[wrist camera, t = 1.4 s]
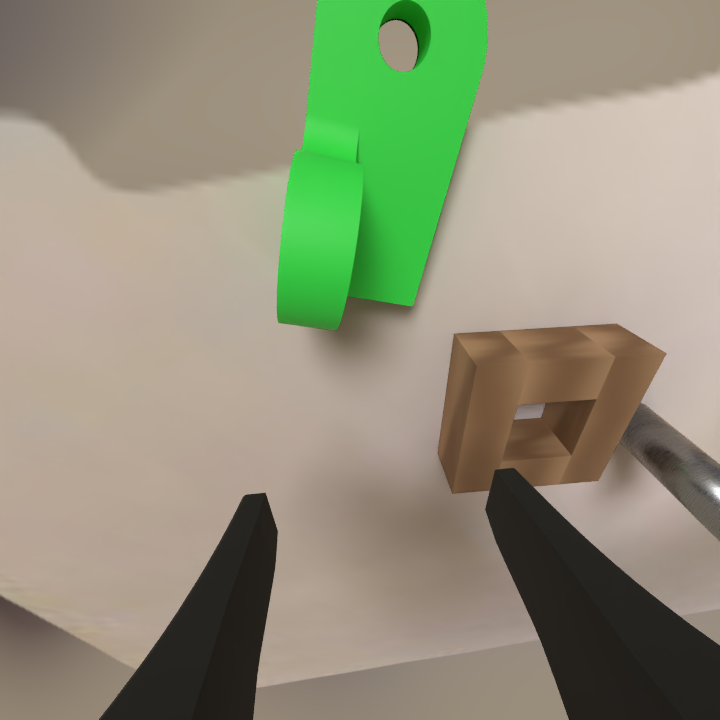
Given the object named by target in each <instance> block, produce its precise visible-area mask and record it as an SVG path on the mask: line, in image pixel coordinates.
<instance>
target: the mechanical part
mask: <svg viewBox="0 0 720 720" xmlns="http://www.w3.org/2000/svg"><path fill="white" fill-rule="evenodd" d="M393 20H399V21H402V22H404V23H406V24H407V25H408V26H409V27H410V28H411V29H412V31H413V33H414V35H415V37H416V41H417V47H418V53H417V59H416V63H415V66H414V68H413V70H411V71H408V72H398V71H395V70H394V69H392V68H391V67H389V66H388V65H387V63H386V62H385V61H384V59H383V57H382V55H381V52H380V48H379V41H378V35H379V29H380V27H381V26H382V25H384V24H385V23H387V22H389V21H393ZM487 42H488V21H487V10H486V3H485V0H317V8H316V18H315V29H314V41H313V50H312V62H311V72H310V82H309V93H308V104H307V115H306V124H305V133H304V140H303V146H302V150H296V151H295V154H294V157H293V160H292V165H291V170H290V175H289V181H288V187H287V194H286V201H285V209H284V217H283V226H282V235H281V245H280V256H279V269H278V286H277V318H278V322H279V323H284V324H291V325H298V326H305V327H312V328H319V329H327V330H334V331H337V329H338V328H339V325H340V322H341V319H342V316H343V312H344V308H345V304H346V300H347V296H350V297H356V298H362V299H369V300H375V301H381V302H388V303H394V304H400V305H407V306H413V304H414V301H415V297H416V294H417V291H418V287H419V284H420V281H421V277H422V274H423V271H424V267H425V264H426V261H427V257H428V254H429V250H430V247H431V244H432V240H433V237H434V234H435V230H436V227H437V224H438V220H439V217H440V213H441V210H442V207H443V203H444V200H445V197H446V193H447V190H448V187H449V183H450V180H451V177H452V173H453V170H454V166H455V163H456V160H457V156H458V153H459V150H460V146H461V143H462V140H463V136H464V133H465V130H466V126H467V123H468V119H469V116H470V113H471V109H472V106H473V102H474V99H475V95H476V92H477V89H478V86H479V83H480V79H481V76H482V72H483V68H484V64H485V58H486V51H487Z"/></svg>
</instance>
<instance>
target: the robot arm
mask: <svg viewBox="0 0 720 720" xmlns="http://www.w3.org/2000/svg"><path fill="white" fill-rule="evenodd" d="M485 510H486V513H487V516H488V519H489V522H490V525H491V528H492V531H493V534H494V537H495V540H496V543H497V545H498V547H499V550H500V552H501V554H502V556H503V558H504V561H505V563H506V565H507V567H508V569H509V572H510V574H511V576H512V578H513V580H514V582H515V585H516V587H517V589H518V591H519V593H520V595H521V598H522V600H523V602H524V604H525V606H526V609H527V611H528V613H529V615H530V617H531V619H532V622H533V624H534V626H535V629H536V631H537V633H538V636H539V638H540V640H541V643H542V646H543V648H544V651H545V654H546V657H547V659H548V662H549V665H550V667H551V670H552V673H553V676H554V678H555V681H556V684H557V687H558V690H559V692H560V695H561V698H562V701H563V704H564V707H565V710H566V712H567V715H568V718H569V720H720V645H718V644H717V643H716V642H714V641H713V640H711V639H710V638H709V637H707V636H706V635H704V634H703V633H702V632H700V631H699V630H697V629H696V628H695V627H693V626H692V625H690V624H689V623H688V622H686V621H685V620H683V618H681V617H680V616H679V615H677V614H676V613H675V612H673V611H672V610H671V609H669V608H668V607H667V606H666V605H664V604H663V603H662V602H660V601H659V600H658V599H657V598H655V597H654V596H653V595H652V594H650V593H649V592H648V591H647V590H645V589H644V588H643V587H642V586H640V585H639V584H638V583H637V582H635V581H634V580H633V579H632V578H631V577H629V576H628V575H627V574H626V573H625V572H624V571H622V570H621V569H620V568H619V567H618V566H616V565H615V564H614V563H613V562H612V561H611V560H610V559H609V558H607V557H606V556H605V555H604V554H603V553H602V552H601V551H599V550H598V549H597V548H596V547H595V546H594V545H593V544H592V543H591V542H589V541H588V540H587V539H586V538H585V537H584V536H583V535H582V534H581V533H580V532H579V531H578V530H577V529H576V528H575V527H573V526H572V525H571V524H570V523H569V522H568V521H567V520H566V519H565V518H564V517H563V516H562V515H561V514H560V513H559V512H558V511H557V510H556V509H555V508H554V507H553V506H552V505H551V504H550V503H549V502H548V501H547V500H546V499H545V498H544V497H543V496H542V495H541V494H540V493H539V492H538V491H537V490H536V489H535V488H534V487H533V486H532V485H531V484H530V483H529V482H528V481H527V480H526V479H525V478H524V477H523V476H522V475H521V474H520V473H519V472H518V471H517V470H516V469H515V468H506V469H496V470H495V472H494V476H493V480H492V484H491V488H490V492H489V496H488V500H487V505H486V509H485ZM277 534H278V531H277V527H276V524H275V521H274V518H273V515H272V512H271V509H270V505H269V502H268V499H267V496H266V493H259V494H250V495H245V496H244V497H243V498H242V500H241V502H240V504H239V506H238V508H237V510H236V512H235V514H234V516H233V518H232V520H231V522H230V524H229V526H228V528H227V530H226V531H225V533H224V535H223V537H222V539H221V541H220V542H219V544H218V546H217V548H216V549H215V551H214V553H213V555H212V556H211V558H210V560H209V562H208V563H207V565H206V567H205V568H204V570H203V572H202V574H201V575H200V577H199V579H198V580H197V582H196V583H195V585H194V587H193V588H192V590H191V591H190V593H189V594H188V596H187V598H186V599H185V601H184V602H183V604H182V605H181V607H180V609H179V610H178V612H177V613H176V615H175V616H174V618H173V619H172V621H171V622H170V624H169V625H168V627H167V628H166V630H165V631H164V633H163V634H162V636H161V637H160V638H159V640H158V641H157V643H156V644H155V646H154V647H153V648H152V650H151V651H150V653H149V654H148V655H147V657H146V658H145V660H144V661H143V662H142V664H141V665H140V666H139V668H138V669H137V670H136V672H135V673H134V675H133V676H132V677H131V678H130V680H129V681H128V682H127V684H126V685H125V686H124V688H123V689H122V690H121V692H120V693H119V694H118V696H117V697H116V698H115V700H114V701H113V702H112V704H111V705H110V706H109V707H108V709H107V710H106V711H105V712H104V714H103V715H102V716H101V718H100V719H99V720H253V714H254V703H255V693H256V683H257V674H258V666H259V659H260V653H261V647H262V641H263V636H264V630H265V624H266V618H267V613H268V607H269V601H270V595H271V589H272V583H273V577H274V571H275V563H276V550H277Z"/></svg>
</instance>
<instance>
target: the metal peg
mask: <svg viewBox="0 0 720 720" xmlns="http://www.w3.org/2000/svg"><path fill="white" fill-rule="evenodd" d="M619 442H620V443H621V444H622V445H623V446H624V447H625V448H626V449H627V450H628V451H629V452H630V453H631V454H632V455H633V456H634V457H635V458H636V459H637V460H638V461H639V462H640V463H641V464H642V465H643V466H644V467H645V468H646V469H647V470H648V471H649V472H650V473H651V474H652V475H653V476H654V477H655V478H656V479H657V480H658V481H659V482H660V483H661V484H662V485H663V486H664V487H665V488H666V489H668V490H669V491H670V492H671V493H672V494H673V495H674V496H675V497H676V498H677V499H678V500H679V501H680V502H681V503H682V504H683V505H684V506H685V507H686V508H687V509H688V510H689V511H690V512H691V513H692V514H693V515H694V516H695V517H696V518H697V519H698V520H699V521H700V522H701V523H702V524H703V525H704V526H705V527H706V528H707V529H708V530H709V531H710V532H711V533H712V534H713V535H714V536H715V537H716V538H717V539H718V540H719V541H720V464H719V463H717V462H716V461H715V460H714V459H712V458H711V457H710V456H709V455H707V454H706V453H705V452H704V451H702V450H701V449H700V448H699V447H697V446H696V445H695V444H694V443H692V442H691V441H690V440H689V439H687V438H686V437H685V436H684V435H682V434H681V433H680V432H679V431H677V430H676V429H675V428H674V427H672V426H671V425H670V424H669V423H667V422H666V421H665V420H664V419H662V418H661V417H660V416H659V415H657V414H656V413H655V412H654V411H652V410H651V409H650V408H649V407H647V406H646V405H645V404H642V403H640V404H639V406H638V408H637V409H636V411H635V413H634V415H633V417H632V419H631V421H630V423H629V424H628V426H627V428H626V430H625V432H624V434H623V436H622V437H621V439H620V441H619Z"/></svg>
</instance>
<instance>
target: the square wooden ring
mask: <svg viewBox="0 0 720 720" xmlns="http://www.w3.org/2000/svg"><path fill="white" fill-rule="evenodd" d="M665 355H666V353H665V352H663V351H662V350H660V349H658V348H657V347H655V346H653V345H652V344H650V343H648V342H647V341H645V340H643V339H642V338H640V337H638V336H637V335H635V334H633V333H631V332H630V331H628V330H626V329H625V328H623V327H621V326H620V325H618V324H606V325H589V326H573V327H557V328H541V329H524V330H508V331H492V332H476V333H459V334H454V339H453V347H452V354H451V361H450V368H449V375H448V383H447V390H446V397H445V404H444V411H443V419H442V426H441V433H440V440H439V447H438V455H439V458H440V461H441V464H442V466H443V469H444V472H445V475H446V477H447V480H448V483H449V486H450V488H451V491H452V494H455V493H466V492H477V491H489V490H490V488H491V484H492V480H493V476H494V472H495V470H496V469H506V468H515V469H516V470H517V471H518V472H519V473H520V474H521V475H522V476H523V477H524V478H525V479H526V480H527V481H528V482H529V483H530V484H531V485H532V486H533V487H534V486H545V485H557V484H568V483H579V482H591V481H598V480H599V478H600V477H601V475H602V473H603V471H604V469H605V467H606V465H607V464H608V462H609V460H610V458H611V456H612V454H613V452H614V450H615V449H616V447H617V445H618V443H619V441H620V439H621V437H622V436H623V434H624V432H625V430H626V428H627V426H628V424H629V423H630V421H631V419H632V417H633V415H634V413H635V411H636V409H637V408H638V406H639V404H640V402H641V400H642V398H643V396H644V395H645V393H646V391H647V389H648V387H649V385H650V383H651V381H652V380H653V378H654V376H655V374H656V372H657V370H658V368H659V367H660V365H661V363H662V361H663V359H664V357H665ZM538 403H546V406H545V409H544V412H543V415H542V418H535V419H522V420H514V417H515V413H516V410H517V406H518V405H525V404H538Z"/></svg>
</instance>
